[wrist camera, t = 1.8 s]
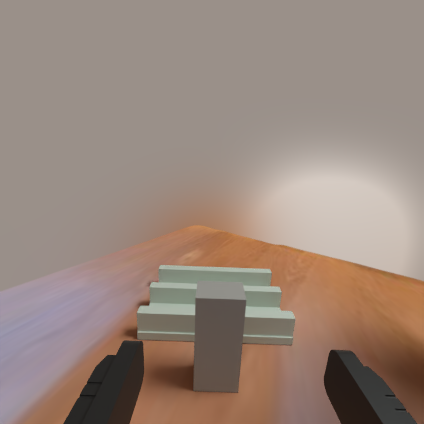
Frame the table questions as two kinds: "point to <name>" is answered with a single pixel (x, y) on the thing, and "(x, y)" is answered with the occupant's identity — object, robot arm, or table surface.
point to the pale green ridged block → (185, 305)
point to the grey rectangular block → (218, 335)
